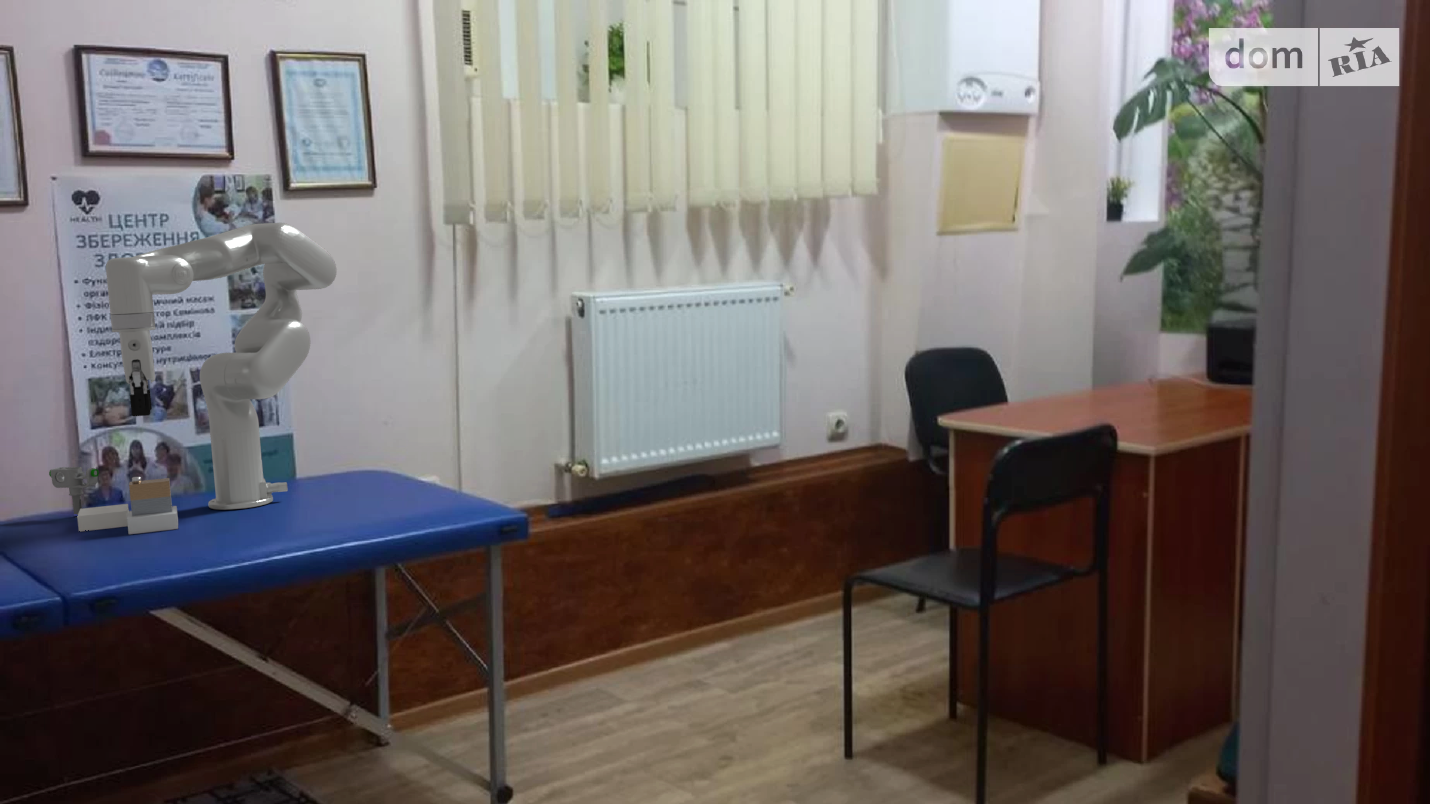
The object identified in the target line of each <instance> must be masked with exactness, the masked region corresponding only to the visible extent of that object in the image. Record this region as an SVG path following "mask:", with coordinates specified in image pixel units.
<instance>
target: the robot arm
mask: <svg viewBox="0 0 1430 804" xmlns="http://www.w3.org/2000/svg"><path fill="white" fill-rule="evenodd" d="M261 265H263V270H262V276H263V277H262V278H263V282H264V283H263V284H264V288H265V299H264V302H263V303H262V305H261V306H260V307H259V308H258V310H257V311H256V312H255V313H254V314H253V316H252V317H250V319H249V320H248V321H247V323H245V325H244V326H243V327H242V328H241V330H239V333H237V336H236V337H235V340H234V350H235V352H221V353H217V354H213V355H211V356H210V357H208V358H207V359H205V360H204V362H203V363H202V365H201V368H200V371H199V383H200V387H201V390H202V394H203V396H204V400H205V403H206V409H207V414H208V423H209V437H210V447H211V456H212V457H211V458H212V459H211V460H212V467H213V468H212V469H213V478H214V479H213V480H214V481H213V482H214V490H215V498H212V499H211V500H209V501H208V507H209V509H211V510H222V511H223V510H224V511H225V510H240V509H248V508H256V507H260V506H263V505H267V504H268V505H269V504H270V503H272V502H273V501H274V497H273V495H272V494H273V493H281V492H283V493H284V492H288V489H289V488H288V483H287V481H286V482H280V481H279V482H274V483H271V482H266V479H265V478H264V473H263V471H264V470H263V461H262V450H261V449H262V447H261V438H260V437H261V436H260V422H259V417H258V414H257V411H256V408H255V406H254V405H253V403H252V400H264V399H265V400H266V399H270V398H272V397H275V396H276V395H277V394H278V393H279V392H281V390H282V389H284V387H285V386H286V384H287V383H288V382H289V381H290V380H291V378H293V376H294V374H295V373H296V372H298V370H299V368H300V367H301V366H302V365H303V363H304V362H305V360H306V359H307V357H308V356H309V353H310V349H311V335H310V332H309V330H308V328H307V327H306V325H304V323H302V322H301V321H302V317H303V312H302V308H301V307H302V306H301V304H300V300H299V297H298V291H303V290H306V291H307V290H322V289H325V288H328V287H329V286H331V285H332V284H333V283H334V281H335V279H336V277H337V270H338V269H337V264H336V262H335V260H334V257H333V256H332V255H331V254H330V253H329V252H328V250H326V249H325V248H324V247H322V246H321V245H320V244H319V243H317V242H316V241H314V240H313V239H312V238H310V237H309V236H308V235H307V234H306V233H303V232H302V231H301V230H299V229H298V228H296V227H294V225H293V226H292V225H291V224H288V223H285V222H267V223H256V224H255V223H254V224H248V225H244V226H241V227H238V228H234V229H231V230H228V231H224V232H222V233H218V234H214V235H212V236H207V237H203V238H199V239H195V240H190V241H186V242H183V243H181V244H180V243H179V244H175V245H171V246H166V247H163V248H159V249H154V250H150V251H148V252H144V253H140V254H137V255H135V256H132V257H115V258H110V259H108V261H107V262H106V265H105V272H106V273H105V274H106V283H107V292H108V303H109V312H110V323H111V324H110V325H111V332H112V333H118V334H119V341H120V342H119V343H120V351H121V360H122V367H123V371H124V377H125V382H126V383H127V384H128V385H130V395H129V402H130V412H131V416H132V417H144V416H145V417H146V416H150V415H151V410H152V408H153V407H152V398H151V397H152V396H151V389H150V388H149V381H150V383H154V381H156V375H155V374H156V373H155V372H156V371H155V364H154V363H155V362H154V352H153V345H152V337H151V332H150V331H154V330H157V329H156V319H155V309H154V308H155V307H154V300H153V299H154V298H153V295H155V296H156V295H157V296H158V295H160V296H161V295H174V294H176V295H177V294H180V293H182V292H184V291H185V290H187V289H189V287H190V286H191V285H192V283H193V282H198V281H199V282H200V281H202V282H203V281H210V280H216V279H221V278H225V277H228V276H231V275H234V274H237V273H239V272H242V271H245V270H248V269H251V268H254V267H257V266H258V267H259V266H261ZM148 380H149V381H148Z"/></svg>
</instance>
